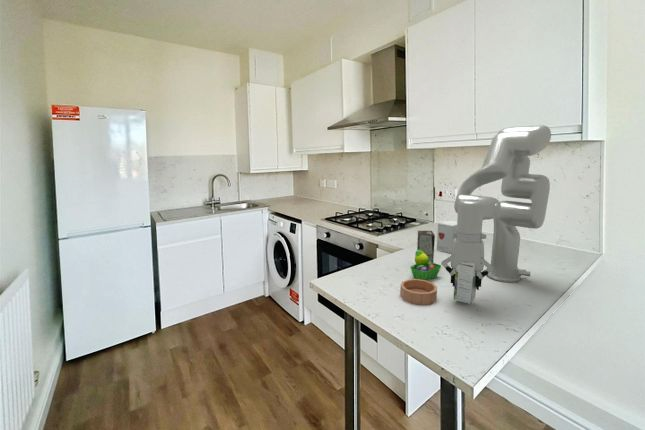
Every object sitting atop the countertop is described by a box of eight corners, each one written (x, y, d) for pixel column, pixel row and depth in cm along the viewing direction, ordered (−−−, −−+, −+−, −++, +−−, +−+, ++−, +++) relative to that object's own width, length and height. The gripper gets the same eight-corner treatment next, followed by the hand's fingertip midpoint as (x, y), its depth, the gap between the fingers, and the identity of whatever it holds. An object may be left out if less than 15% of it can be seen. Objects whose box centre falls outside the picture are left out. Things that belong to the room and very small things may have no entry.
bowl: (437, 292, 118) (438, 282, 118) (434, 307, 107) (435, 296, 107) (403, 286, 123) (404, 277, 123) (397, 300, 112) (398, 290, 111)
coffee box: (433, 271, 139) (435, 235, 135) (418, 270, 140) (419, 235, 137) (430, 263, 147) (432, 230, 144) (416, 263, 149) (417, 229, 145)
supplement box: (435, 250, 167) (437, 222, 164) (445, 246, 172) (447, 219, 169) (451, 254, 160) (453, 225, 157) (461, 250, 165) (463, 222, 162)
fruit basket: (424, 284, 126) (425, 257, 123) (406, 277, 133) (407, 251, 130) (441, 277, 132) (442, 251, 130) (423, 270, 139) (424, 246, 137)
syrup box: (458, 293, 114) (460, 255, 110) (475, 298, 110) (478, 258, 107) (453, 299, 109) (455, 260, 106) (471, 304, 106) (474, 263, 103)
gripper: (497, 235, 105) (492, 285, 109) (441, 231, 112) (439, 278, 115) (499, 242, 98) (494, 295, 102) (439, 237, 105) (437, 287, 109)
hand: (465, 286), depth 109 cm, fingers closed on syrup box, 6 cm apart
